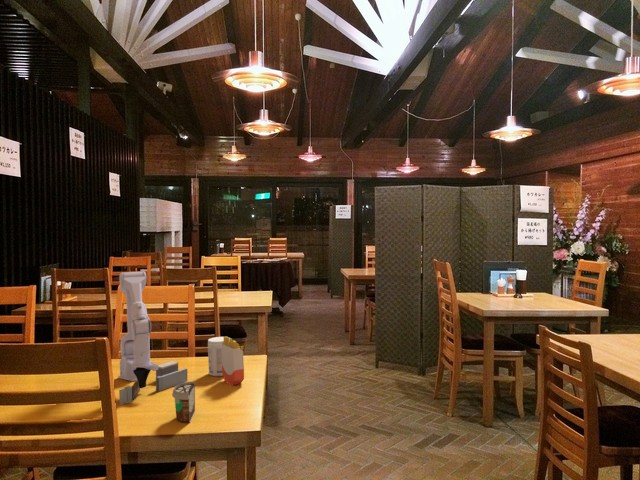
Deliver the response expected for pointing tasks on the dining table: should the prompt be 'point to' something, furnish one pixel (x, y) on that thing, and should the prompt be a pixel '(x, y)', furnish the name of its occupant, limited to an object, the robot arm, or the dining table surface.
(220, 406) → the dining table surface
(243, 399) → the dining table surface
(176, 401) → the food container
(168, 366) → the block
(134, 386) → the door
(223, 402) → the dining table surface
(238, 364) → the french fries container
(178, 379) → the wall
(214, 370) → the supplement tub
